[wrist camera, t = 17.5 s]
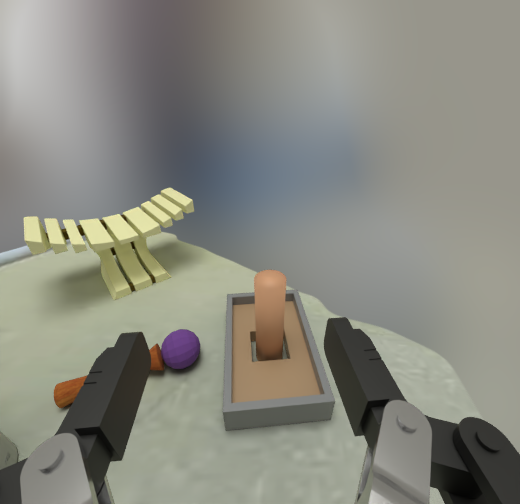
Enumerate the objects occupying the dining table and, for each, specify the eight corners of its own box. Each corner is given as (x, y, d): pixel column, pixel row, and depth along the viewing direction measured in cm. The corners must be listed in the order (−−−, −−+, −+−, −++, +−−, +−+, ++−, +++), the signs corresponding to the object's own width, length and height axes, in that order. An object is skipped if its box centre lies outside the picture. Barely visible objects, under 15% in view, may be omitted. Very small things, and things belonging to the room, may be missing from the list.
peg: (257, 367, 41) (255, 290, 33) (255, 345, 45) (253, 270, 36) (284, 365, 41) (289, 288, 33) (280, 343, 45) (283, 268, 37)
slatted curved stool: (177, 242, 77) (165, 185, 68) (202, 264, 67) (192, 199, 58) (59, 281, 61) (23, 212, 52) (68, 319, 51) (24, 240, 41)
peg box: (225, 430, 33) (222, 412, 31) (228, 311, 52) (227, 294, 50) (330, 419, 34) (335, 401, 32) (296, 306, 53) (297, 289, 51)
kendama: (57, 365, 37) (192, 317, 43) (75, 393, 40) (200, 344, 46) (42, 397, 32) (197, 338, 38) (63, 428, 34) (206, 367, 40)
